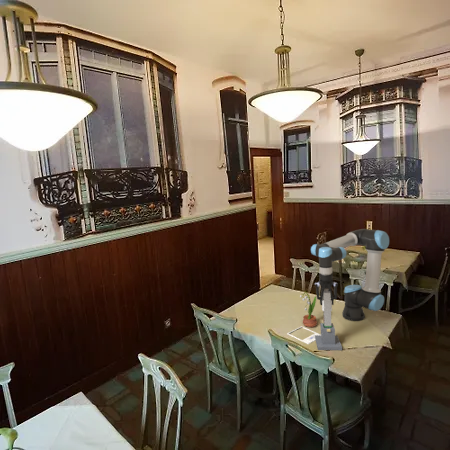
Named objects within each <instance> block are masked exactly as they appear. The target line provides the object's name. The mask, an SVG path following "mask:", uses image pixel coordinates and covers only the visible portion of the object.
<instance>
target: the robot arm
mask: <svg viewBox="0 0 450 450" xmlns="http://www.w3.org/2000/svg"><path fill="white" fill-rule="evenodd" d="M389 245H390V236H389V235H388V233H387V232H386V231H383V230H379V229H377V230H376V229H369V228H361V229H356V230H352V231H350V232H348V233H346V235H343V236H340V237H337V238H335V239H332V240H330V241H327V242H324V243H321V244H318V243H315V244H312V246H310V253H311V255H313V256H315V257H318V267H319V269H318V270H319V271H318V272H319V274H318V275H319V276H318V277H319V280H318V282H315V283H314V286H315V293H316V300H318V301H319V304H320V306H321V310H322V312H323V311H324V300H323V291H324V290H325V289H329V291H330V295H331V312H332V311H333V306H334V303H335V302H334V301H335V300H337V297H338V286H339V284H338V282H335V281H334V280H333V279H334V278H333V263H334V262H337V261H341V260H343V259H345V258H346V257H347V250H346V248H347V247H350V246H351V247H354V246H364V247H365V250H366V252H367V255H366V267H365V268H366V269H365V270H366V271H365V282H364V287H362V285H360V284H350V285H346V286H345V287H344V291H343V293H344V307H343V310H342V315H341V316H342V318H344V319H345V320H347V321H351V322H360V321H363V320H365V318H366V317H365V316H366V314H365V311H364V308H365V309H368V310H370V311H373V312H377V311H379V310H381V309H382V307H383V305H384V304H385V297H384V295H382V293H381V292H382V290H381V289H380V288H379V287H380V279H381V277H380V276H381V265H382V264H381V263H382V255H383V253H384V252H385V251H386V249H387V248H388V247H389ZM320 286H321V288H320ZM332 286H333V291H332ZM319 288H320V289H321V290H319Z"/></svg>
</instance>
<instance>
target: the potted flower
mask: <svg viewBox="0 0 450 450" xmlns="http://www.w3.org/2000/svg"><path fill="white" fill-rule="evenodd" d="M304 295H305V296H304ZM303 296H304V297H303ZM299 298H302V301H303V302H304V301H306V305H305V308H304V311H307V313H308V314H305V315H304V316H303V320H302V324H303V326H304V327H306V328H314V327H316V326H317V325H318V321H317V317H316V316H315V315H313V311H314V309H315V307H316V302H317V295H316V296H314V298H313V300H311V297H310V295H309V293H308V292H303V294H300V295H299ZM308 305H309V306H308ZM307 306H308V309H307Z"/></svg>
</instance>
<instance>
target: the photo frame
mask: <svg viewBox="0 0 450 450" xmlns="http://www.w3.org/2000/svg"><path fill="white" fill-rule="evenodd" d="M300 328H302V329H304V330H306V331H309V332H311V333H313V334H311V335H310V336H308V337H306V338H304V339H301V338H299V337H296V336H295V335H293V334H290V333H292V332H295V331H296V330H299V329H300ZM286 334H287V335H288V336H290V337H292V338H295V339H296V340H298V341H300V342H302V343H305V344H307V345H310V344H312V343H313V342H316V340H315V335H321V333H318V332H316V331H314V330H311V329H309V328H308V327H306V326H302V325H301V326H299V327H297V328H295V329H293V330H291V331H289V332H287V333H286Z"/></svg>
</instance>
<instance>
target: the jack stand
mask: <svg viewBox="0 0 450 450" xmlns="http://www.w3.org/2000/svg"><path fill="white" fill-rule="evenodd" d="M319 323H320V322H319ZM323 323H324V322H323ZM323 323H322V322H321V323H320V334H321V335H315V344H316V348H317V350H318V351H343V346H342V344H341V342H340V338H339V336H338V335H336V329H335V326H334V323H332V322H331V326H332V328H324V324H323Z"/></svg>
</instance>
